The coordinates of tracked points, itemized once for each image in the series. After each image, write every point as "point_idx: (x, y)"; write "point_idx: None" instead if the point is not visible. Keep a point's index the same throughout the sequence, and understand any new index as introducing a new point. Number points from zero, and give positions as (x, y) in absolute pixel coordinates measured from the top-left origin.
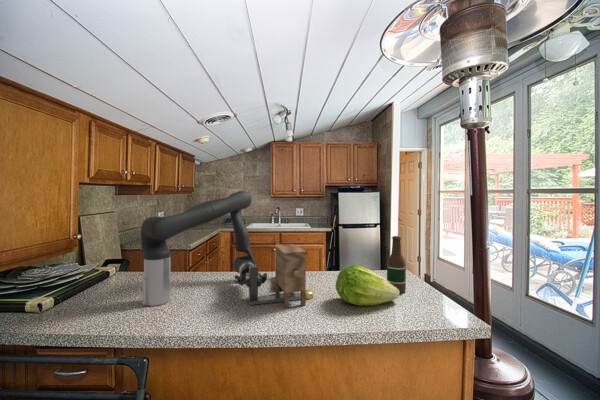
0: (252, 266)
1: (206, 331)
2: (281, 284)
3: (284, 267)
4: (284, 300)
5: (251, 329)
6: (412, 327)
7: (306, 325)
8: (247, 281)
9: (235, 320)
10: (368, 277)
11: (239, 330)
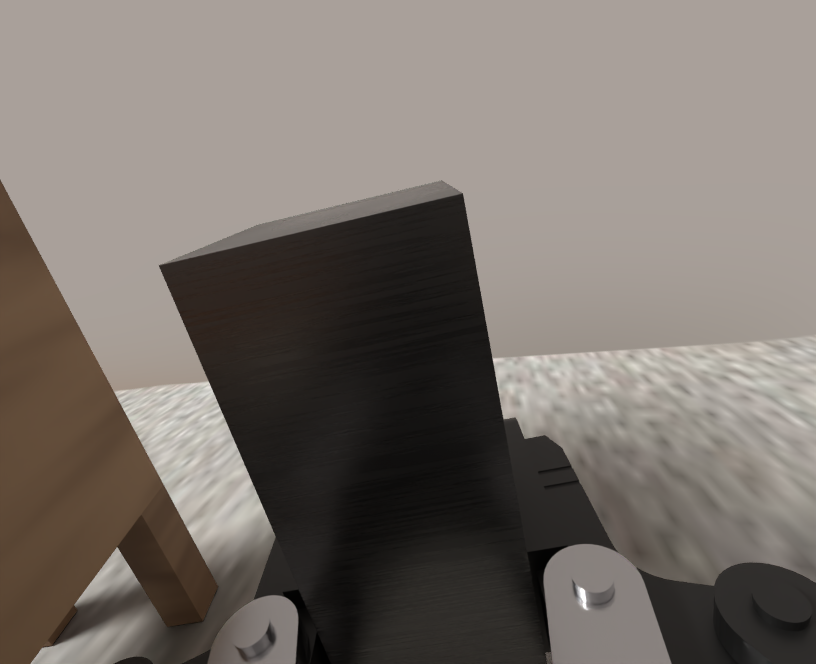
0: (358, 207)
1: (733, 358)
2: (25, 587)
3: (8, 250)
4: (185, 561)
5: None
6: None
7: None
8: (556, 504)
9: (609, 438)
10: None
11: (552, 372)
